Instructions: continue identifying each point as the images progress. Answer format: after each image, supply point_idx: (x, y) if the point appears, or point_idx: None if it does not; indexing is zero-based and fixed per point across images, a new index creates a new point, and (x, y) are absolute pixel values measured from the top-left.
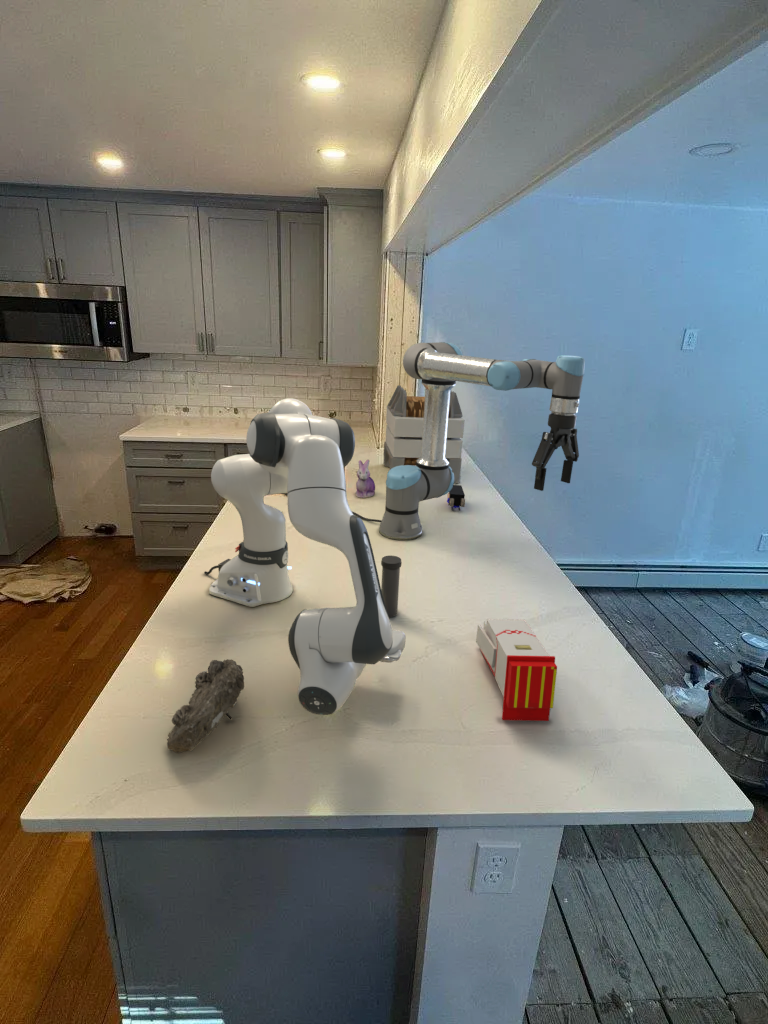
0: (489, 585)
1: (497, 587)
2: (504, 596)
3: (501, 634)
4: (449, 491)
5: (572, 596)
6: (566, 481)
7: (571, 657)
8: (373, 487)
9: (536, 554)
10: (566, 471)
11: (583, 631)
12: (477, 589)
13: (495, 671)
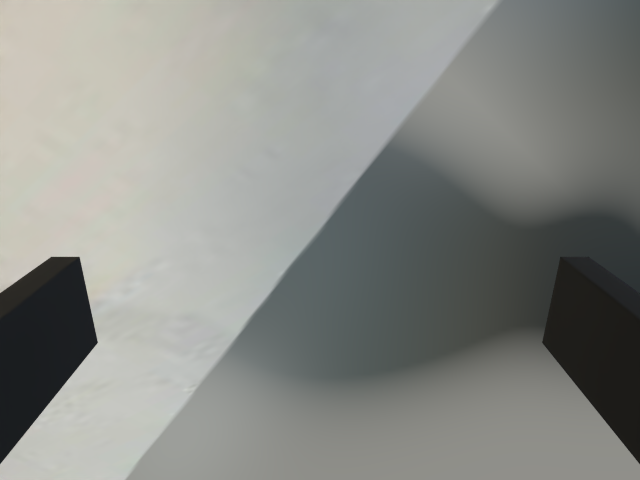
0: (85, 99)
1: (101, 126)
2: (79, 180)
3: None
4: None
5: (264, 295)
6: (554, 326)
7: None
8: None
9: (459, 29)
10: (626, 384)
11: (135, 395)
12: (26, 93)
13: None
